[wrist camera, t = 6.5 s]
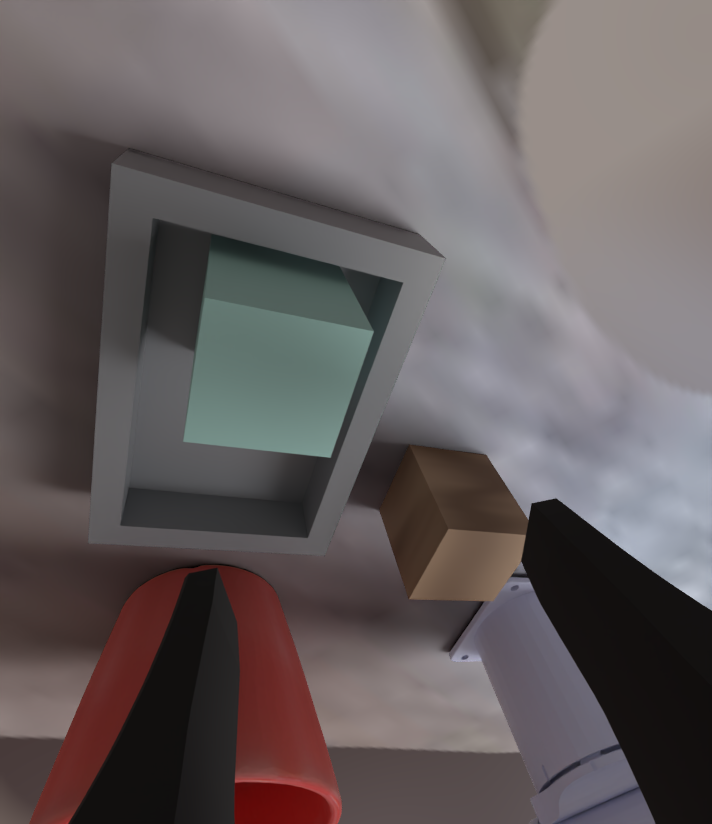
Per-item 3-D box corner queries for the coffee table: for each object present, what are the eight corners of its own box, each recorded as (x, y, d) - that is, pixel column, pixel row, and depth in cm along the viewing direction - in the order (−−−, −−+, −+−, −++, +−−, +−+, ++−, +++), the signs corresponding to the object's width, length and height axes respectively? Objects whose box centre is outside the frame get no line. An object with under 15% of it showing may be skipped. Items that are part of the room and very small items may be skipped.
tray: (420, 234, 17) (445, 258, 15) (316, 513, 23) (324, 556, 21) (128, 148, 14) (111, 162, 12) (101, 495, 20) (88, 543, 18)
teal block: (308, 370, 18) (330, 457, 14) (194, 351, 17) (182, 441, 13) (338, 264, 16) (373, 331, 12) (211, 233, 15) (204, 297, 11)
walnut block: (486, 454, 23) (538, 536, 19) (451, 515, 25) (493, 601, 21) (408, 443, 22) (448, 529, 18) (379, 509, 24) (408, 599, 20)
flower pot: (166, 505, 21) (129, 764, 13) (350, 586, 27) (399, 801, 19) (41, 639, 24) (-48, 911, 17) (229, 686, 30) (228, 906, 22)
